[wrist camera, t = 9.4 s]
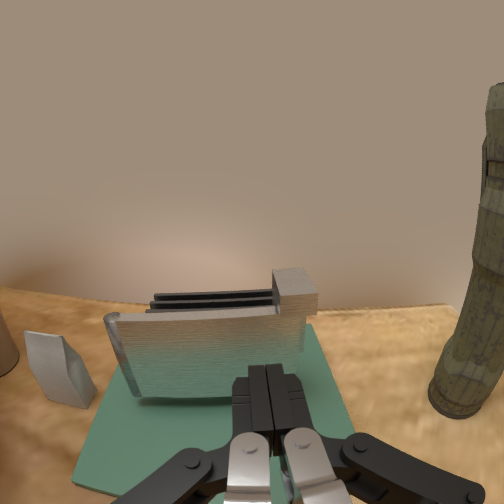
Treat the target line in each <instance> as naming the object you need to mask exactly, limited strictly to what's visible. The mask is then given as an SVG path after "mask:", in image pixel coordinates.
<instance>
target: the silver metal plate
mask: <svg viewBox="0 0 504 504" xmlns="http://www.w3.org/2000/svg"><path fill="white" fill-rule="evenodd" d="M103 320H104V323H105V326H106V329H107V332H108V335H109V338H110V341H111V344H112V347H113V349H114V352H115V355H116V357H117V360H118V363H119V365H120V368H121V370H122V373H123V375H124V378H125V380H126V382H127V385H128V387H129V389H130V392H131V394H132V395H133V396H134V397H142V396H144V397H170V398H202V397H228V396H232V385H233V383H234V381H235V379H236V377H248V365H264V366H265V364H277V363H282V366H283V370H284V374H292V373H294V374H295V375H296V369H297V357H298V344H299V329H300V316H299V317H287V318H280V316H279V312H278V309H277V306H270V307H258V308H244V309H229V310H212V311H192V312H164V313H118V312H112V313H109V314H107V315H105V316H104V318H103Z"/></svg>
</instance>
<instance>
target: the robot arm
mask: <svg viewBox="0 0 504 504" xmlns="http://www.w3.org/2000/svg"><path fill="white" fill-rule="evenodd" d="M18 358H19V352H18V350H17V348H16V346H15V343H14V341H13V339H12V337H11V335H10V332H9V330H8V328H7V325H6V323H5V321H4V318H3V316H2V313H1V310H0V376H2V375H4V374H5V373H7V372H8V371H10V370H11V369H12V368H13V367H14V366H15V364H16V363H17V361H18ZM232 428H233V433H232V437H231V439H230V441H229V442H228V443H227V444H226V445H224V446H223V447H221V448H218V449H215V450H211V451H207V452H205V451H203V450H201V449H199V448H185V449H183V450H181V451H179V452H178V453H176V454H175V455H174V456H173V457H172V458H170V459H169V460H168V461H167V462H166V463H164V464H163V465H162V466H161V467H159V468H158V469H157V470H156V471H154V472H153V473H152V474H150V475H149V476H148V477H147V478H145V479H144V480H143V481H141V482H140V483H139V484H137V485H136V486H135V487H133V488H132V489H130V490H129V491H128V492H126V493H125V494H123V495H122V496H121V497H119V498H118V499H116V500H115V501H113V502H112V503H110V504H208V503H209V502H210V501H211V500H212V499H213V498H214V497H215V496H216V495H217V494H219V493H223V492H225V496H224V504H271V493H270V472H269V463H270V457H272V452H273V457H275V456H279V460H280V475H281V479H282V483H283V487H284V491H285V495H286V499H287V502H288V504H352V502H351V499H350V497H349V494H351V495H353V496H355V497H356V498H358V499H360V500H362V501H364V502H365V503H367V504H483V503H484V500H485V490H484V488H483V487H482V485H480V484H478V483H475V482H473V481H470V480H467V479H464V478H462V477H459V476H457V475H454V474H452V473H449V472H447V471H444V470H442V469H439V468H437V467H435V466H432V465H430V464H428V463H426V462H423V461H421V460H419V459H417V458H415V457H413V456H411V455H408V454H406V453H404V452H402V451H400V450H398V449H396V448H394V447H392V446H390V445H388V444H386V443H384V442H383V441H381V440H379V439H377V438H375V437H373V436H371V435H369V434H367V433H354V434H351V435H350V436H348V437H347V438H346V439H338V438H328V437H325V436H323V435H321V434H319V433H318V432H317V431H316V430H315V428H314V426H313V423H312V419H311V416H310V412H309V408H308V405H307V401H306V397H305V394H304V390H303V386H302V383H301V380H300V379H299V378H298V377H297V376H296V375H295V374H294V373H292V374H284V370H283V366H282V363H277V364H265V366H264V365H248V377H236V379H235V381H234V383H233V385H232ZM348 493H349V494H348Z"/></svg>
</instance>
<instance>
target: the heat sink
mask: <svg viewBox="0 0 504 504" xmlns="http://www.w3.org/2000/svg"><path fill="white" fill-rule="evenodd" d="M154 300H155V301H151V302H150V308H151V309H146V311H145V313H164V312H192V311H212V310H229V309H244V308H258V307H270V306H277V309H278V312H279V316H280V318H287V317H299V316H300V329H299V344H298V357H297V369H296V376H297V377H298V378H299V379H300V380H301V383H302V386H303V390H304V394H305V397H306V401H307V405H308V408H309V412H310V416H311V419H312V423H313V426H314V428H315V430H316V431H317V432H318V433H319V434H321V435H323V436H325V437H328V438H338V439H346V438H347V437H348V436H350V435H351V434H354V433H355V431H354V428H353V426H352V423H351V420H350V418H349V415H348V413H347V410H346V408H345V405H344V403H343V400H342V398H341V395H340V393H339V390H338V388H337V385H336V383H335V380H334V378H333V375H332V373H331V371H330V368H329V366H328V363H327V361H326V358H325V356H324V354H323V351H322V349H321V346H320V344H319V342H318V339H317V337H316V334H315V332H314V330H313V327H312V325H311V324H306V316H310V315H317V305H318V291H317V290H316V288H315V286H314V284H313V283H312V281H311V279H310V278H309V276H308V274H307V273H306V271H305V269H304V268H290V269H273V270H272V289H260V290H242V291H221V292H196V293H161V294H154ZM232 433H233V428H232V396H228V397H202V398H170V397H144V396H142V397H134V396H133V395H132V394H131V392H130V389H129V387H128V385H127V382H126V380H125V378H124V375H123V373H122V370H121V368H120V365H119V364H118V366H117V368H116V370H115V373H114V375H113V377H112V379H111V381H110V384H109V386H108V388H107V390H106V392H105V395H104V397H103V399H102V402H101V404H100V406H99V408H98V411H97V413H96V416H95V418H94V420H93V423H92V425H91V428H90V430H89V433H88V435H87V438H86V440H85V443H84V445H83V448H82V451H81V453H80V456H79V459H78V461H77V464H76V467H75V470H74V473H73V476H72V479H71V481H72V482H73V483H74V484H75V485H78V486H81V487H84V488H87V489H90V490H93V491H96V492H100V493H103V494H107V495H111V496H115V497H121V496H122V495H123V494H125V493H126V492H128V491H129V490H130V489H132V488H133V487H135V486H136V485H137V484H139V483H140V482H141V481H143V480H144V479H145V478H147V477H148V476H149V475H150V474H152V473H153V472H154V471H156V470H157V469H158V468H159V467H161V466H162V465H163V464H164V463H166V462H167V461H168V460H169V459H170V458H172V457H173V456H174V455H175V454H176V453H178V452H179V451H181V450H183V449H185V448H199V449H201V450H203V451H205V452H207V451H211V450H215V449H218V448H221V447H223V446H224V445H226V444H227V443H228V442H229V441H230V439H231V437H232ZM269 472H270V493H271V504H288V502H287V499H286V495H285V491H284V487H283V483H282V479H281V475H280V460H279V456H275V457H273V452H272V457H270V463H269ZM348 494H349V493H348ZM349 495H350V494H349ZM224 496H225V492H223V493H219V494H217V495H216V496H215V497H214V498H213V499H212V500H211V501H210V502H209V503H208V504H224Z"/></svg>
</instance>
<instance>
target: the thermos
mask: <svg viewBox="0 0 504 504" xmlns="http://www.w3.org/2000/svg"><path fill="white" fill-rule="evenodd" d="M485 115H486V131H487V135H486V138H485V140H484V143H483V146H482V184H481V197H480V204H479V210H478V218H477V226H476V233H475V239H474V245H473V250H472V259H473V270H472V274H471V278H470V282H469V286H468V290H467V293H466V297H465V301H464V304H463V307H462V311H461V314H460V317H459V320H458V323H457V326H456V329H455V331H454V334H453V335H452V336H451V338H450V339H449V340H448V341H447V343H446V344H445V346H444V349H443V352H442V354H441V357H440V359H439V361H438V364H437V366H436V368H435V372H434V377H433V379H432V381H431V382H430V384H429V388H428V397H429V400H430V402H431V404H432V406H433V407H434V408H435V409H436V410H437V411H438V412H439V413H441V414H442V415H444V416H446V417H448V418H453V419H466V418H468V417H470V416H473V415H474V414H475V413H476V412H477V411H478V410H479V409H480V407H481V405H482V403H483V402H484V401H485V400H486V399H487V398H488V397H489V395H490V394H491V392H492V390H493V389H494V387H495V385H496V383H497V382H498V380H499V378H500V376H501V375H502V373H503V370H504V82H503V83H498V84H496V85H495V86H492V87H491V88H490V90H489V96H488V101H487V106H486V113H485Z"/></svg>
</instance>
